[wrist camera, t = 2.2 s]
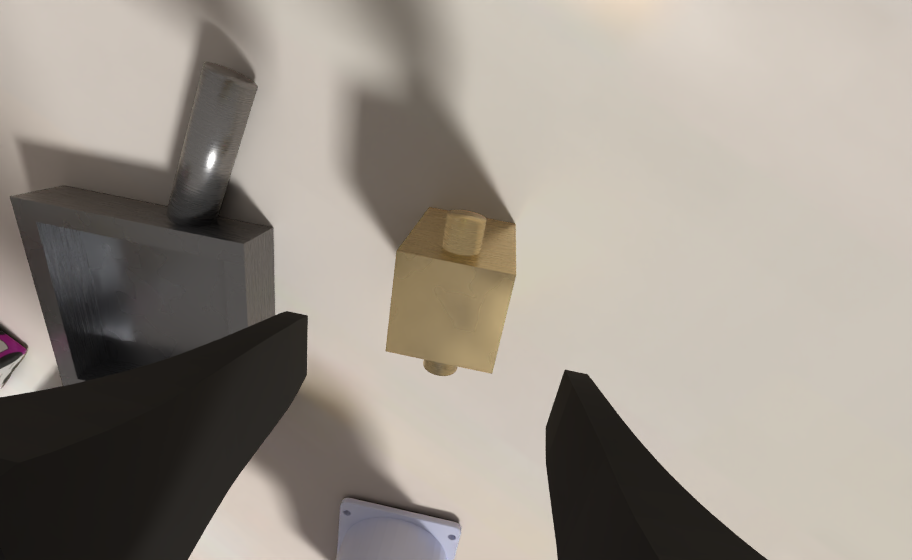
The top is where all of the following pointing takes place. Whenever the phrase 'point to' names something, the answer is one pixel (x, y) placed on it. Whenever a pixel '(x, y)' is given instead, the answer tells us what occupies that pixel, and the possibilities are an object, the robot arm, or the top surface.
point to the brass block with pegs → (452, 290)
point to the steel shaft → (210, 145)
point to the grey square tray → (138, 279)
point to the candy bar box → (9, 356)
